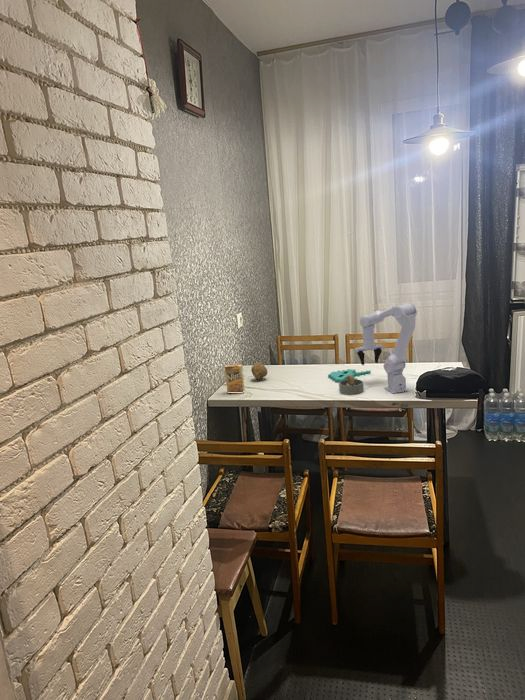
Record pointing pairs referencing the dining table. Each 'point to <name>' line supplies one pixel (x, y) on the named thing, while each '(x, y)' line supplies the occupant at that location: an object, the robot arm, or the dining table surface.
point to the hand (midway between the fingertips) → (369, 363)
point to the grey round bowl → (351, 387)
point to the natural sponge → (259, 371)
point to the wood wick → (350, 380)
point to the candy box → (234, 378)
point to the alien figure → (345, 374)
